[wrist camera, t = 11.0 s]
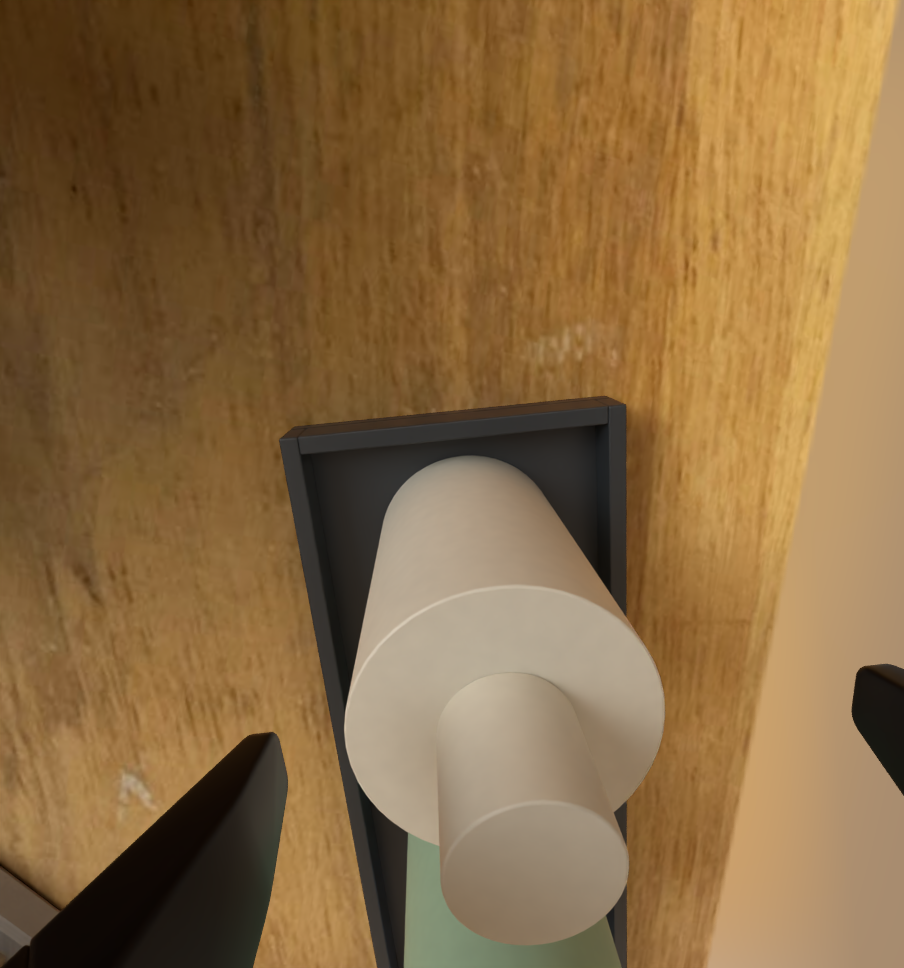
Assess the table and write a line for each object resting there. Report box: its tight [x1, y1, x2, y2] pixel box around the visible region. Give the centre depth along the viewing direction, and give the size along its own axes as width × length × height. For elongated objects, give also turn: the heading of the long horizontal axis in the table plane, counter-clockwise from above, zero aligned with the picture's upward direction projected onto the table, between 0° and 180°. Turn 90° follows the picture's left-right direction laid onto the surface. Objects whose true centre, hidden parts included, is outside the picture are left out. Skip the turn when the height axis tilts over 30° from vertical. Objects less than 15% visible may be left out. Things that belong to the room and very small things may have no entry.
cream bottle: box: [344, 455, 665, 945], centre depth 14 cm, size 6×6×13 cm
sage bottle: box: [404, 833, 622, 968], centre depth 18 cm, size 6×6×13 cm
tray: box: [279, 396, 627, 968], centre depth 23 cm, size 11×31×2 cm, turn 5°
